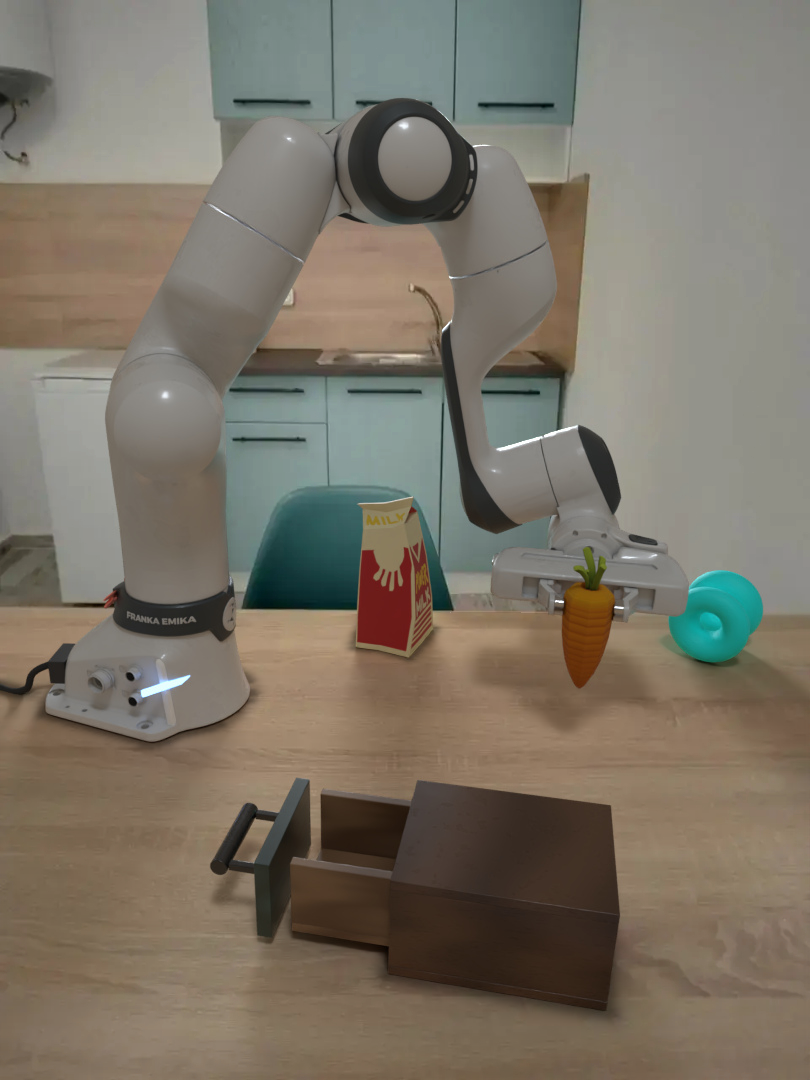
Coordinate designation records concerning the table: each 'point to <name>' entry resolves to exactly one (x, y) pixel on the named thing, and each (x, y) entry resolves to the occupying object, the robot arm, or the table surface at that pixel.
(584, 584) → the carrot
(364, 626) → the milk carton
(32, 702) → the table surface
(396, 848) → the drawer
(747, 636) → the turquoise spool
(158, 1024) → the table surface
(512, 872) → the cabinet
